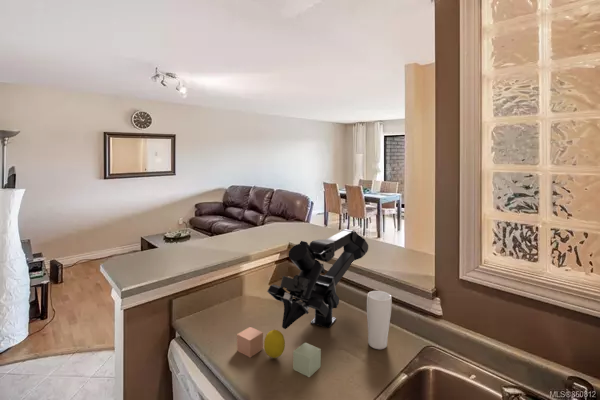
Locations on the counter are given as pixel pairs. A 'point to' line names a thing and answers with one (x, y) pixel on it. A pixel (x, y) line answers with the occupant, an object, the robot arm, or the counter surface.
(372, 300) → the drinking glass
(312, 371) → the sage block
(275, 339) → the lemon
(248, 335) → the terracotta block
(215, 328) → the counter surface
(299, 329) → the counter surface
